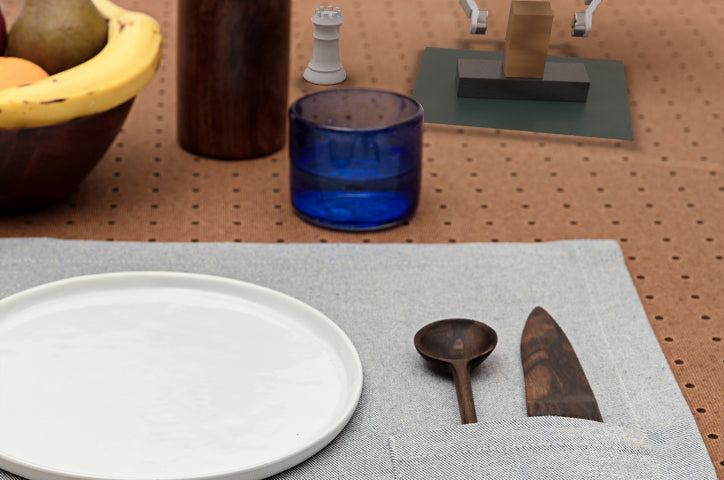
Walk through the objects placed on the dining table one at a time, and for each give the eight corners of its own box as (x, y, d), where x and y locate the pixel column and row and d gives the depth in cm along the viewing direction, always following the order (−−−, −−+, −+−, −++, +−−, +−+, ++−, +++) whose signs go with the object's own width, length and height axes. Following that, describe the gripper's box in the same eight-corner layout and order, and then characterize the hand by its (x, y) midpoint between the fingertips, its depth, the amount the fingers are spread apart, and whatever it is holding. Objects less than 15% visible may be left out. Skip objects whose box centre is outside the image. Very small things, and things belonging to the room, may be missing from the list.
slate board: (620, 71, 111) (623, 60, 110) (630, 152, 95) (633, 140, 94) (424, 57, 115) (425, 46, 115) (403, 132, 100) (404, 120, 99)
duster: (579, 82, 105) (595, 1, 101) (586, 102, 101) (603, 18, 97) (455, 78, 107) (465, -3, 102) (456, 97, 103) (467, 14, 98)
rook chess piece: (335, 77, 111) (339, 0, 106) (353, 93, 107) (359, 13, 103) (295, 83, 110) (297, 5, 105) (312, 99, 106) (316, 19, 102)
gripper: (427, -122, 102) (420, 14, 99) (653, -120, 99) (650, 20, 97) (421, -84, 108) (414, 45, 106) (634, -82, 105) (631, 51, 103)
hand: (529, 33), depth 101 cm, fingers open, 8 cm apart
